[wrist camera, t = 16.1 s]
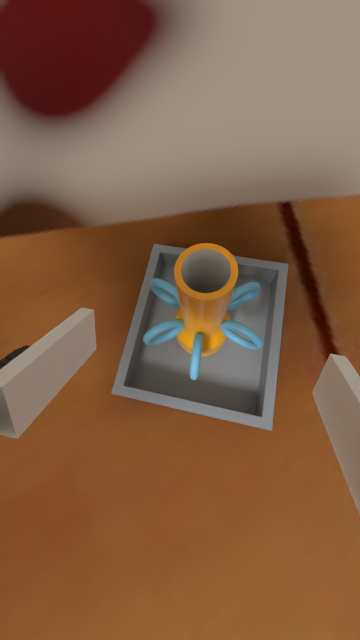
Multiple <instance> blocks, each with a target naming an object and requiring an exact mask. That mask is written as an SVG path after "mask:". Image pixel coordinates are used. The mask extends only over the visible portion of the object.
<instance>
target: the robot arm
mask: <svg viewBox="0 0 360 640" xmlns="http://www.w3.org/2000/svg"><path fill="white" fill-rule="evenodd" d="M95 350H96V335H95V318H94V310H92V309H87V308H81V309H79V310H78V311H77V312H75V313H74V314H73V315H71V316H70V317H69V318H67V319H66V320H65V321H63V322H62V323H61V324H59V325H58V326H57V327H55V328H54V329H53V330H52V331H50V332H49V333H48V334H46V335H45V336H44V337H42V338H41V339H40V340H38V341H37V342H36V343H34V344H33V345H32V346H24V347H21V348H19V349H17V350H14V351H13V352H12V353H10V354H9V355H7V356H6V357H5V359H2V360H0V435H4V436H8V437H12V438H15V439H18V438H19V437H20V436H21V434H22V433H23V432H24V431H25V430H26V429H27V428H28V426H29V425H30V424H31V423H32V422H33V421H34V420H35V418H36V417H37V416H38V415H39V414H40V413H41V412H42V410H43V409H44V408H45V407H46V406H47V405H48V404H49V402H50V401H51V400H52V399H53V398H54V397H55V396H56V394H57V393H58V392H59V391H60V390H61V389H62V388H63V386H64V385H65V384H66V383H67V382H68V381H69V380H70V379H71V377H72V376H73V375H74V374H75V373H76V372H77V371H78V369H79V368H80V367H81V366H82V365H83V364H84V363H85V361H86V360H87V359H88V358H89V357H90V356H91V355H92V353H93V352H94V351H95ZM312 395H313V397H314V400H315V402H316V405H317V408H318V410H319V413H320V415H321V418H322V420H323V423H324V426H325V428H326V431H327V433H328V436H329V438H330V441H331V443H332V446H333V449H334V451H335V454H336V456H337V459H338V461H339V464H340V466H341V469H342V472H343V474H344V477H345V479H346V482H347V484H348V487H349V490H350V492H351V495H352V497H353V500H354V502H355V505H356V507H357V510H358V513H359V515H360V377H359V375H358V374H357V372H356V371H355V369H354V368H353V366H352V365H351V363H350V362H349V361H348V359H347V358H346V357H345V356H340V355H334V354H330V356H329V358H328V360H327V362H326V364H325V366H324V368H323V370H322V373H321V375H320V377H319V379H318V381H317V383H316V385H315V387H314V390H313V392H312Z"/></svg>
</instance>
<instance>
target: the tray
mask: <svg viewBox="0 0 360 640" xmlns="http://www.w3.org/2000/svg"><path fill="white" fill-rule="evenodd" d="M185 250H186V248H179V247H173V246H166V245H160V244H154V245H153V249H152V252H151V256H150V259H149V263H148V266H147V270H146V273H145V277H144V280H143V284H142V287H141V291H140V294H139V298H138V301H137V305H136V308H135V312H134V315H133V319H132V322H131V326H130V329H129V333H128V336H127V340H126V343H125V347H124V350H123V354H122V357H121V361H120V364H119V368H118V372H117V375H116V379H115V382H114V386H113V389H112V393H111V394H115V395H120V396H124V397H128V398H133V399H137V400H141V401H146V402H150V403H154V404H158V405H163V406H167V407H171V408H176V409H180V410H184V411H189V412H193V413H197V414H201V415H206V416H210V417H214V418H219V419H223V420H227V421H231V422H236V423H240V424H244V425H249V426H253V427H257V428H262V429H266V430H270V431H272V424H273V414H274V404H275V394H276V384H277V374H278V364H279V354H280V344H281V334H282V324H283V314H284V305H285V295H286V285H287V275H288V265H289V264H286V263H279V262H272V261H266V260H259V259H252V258H246V257H239V256H233V257H234V258H235V260H236V262H237V266H238V277H237V281H236V284H235V287H234V289H236V288H238V287H240V286H242V285H244V284H247V283H250V282H257V283H259V284H260V286H261V290H260V292H259V293H258V294H257V295H256V296H255V297H254V298H253V299H252V300H250V301H249V302H247V303H246V304H244V305H242V306H240V307H238V308H235V309H233V310H229V311H228V312H229V315H230V319H231V320H233V321H236V322H239V323H241V324H244V325H245V326H247V327H249V328H251V329H252V330H253V331H255V332H256V333H257V334H258V335H259V336H260V337H261V338H262V340H263V346H262V348H261V349H258V350H253V349H249V348H246V347H243V346H241V345H239V344H237V343H235V342H234V341H232V340H231V339H229V338H228V337H227V339H226V341H225V343H224V345H223V346H222V348H221V349H220V350H219V351H218V352H216V353H215V354H213V355H210V356H206V357H201V360H200V368H199V376H198V378H197V379H196V380H192V379H191V378H190V363H191V354H189V353H188V352H186V351H185V350H184V349H183V348H182V347H181V346H180V344H179V342H178V340H177V337H176V336H175V337H173V338H172V339H170V340H167V341H165V342H163V343H160V344H156V345H147V344H145V343H144V342H143V336H144V335H145V333H146V332H147V331H148V330H150V329H151V328H152V327H154V326H156V325H157V324H159V323H162V322H164V321H167V320H170V319H174V317H175V314H176V312H177V310H178V308H177V307H174V306H172V305H170V304H168V303H166V302H165V301H163V300H162V299H161V298H159V297H158V296H157V295H156V294H155V293H154V292H153V291H152V290H151V288H150V285H149V283H150V281H151V280H152V279H154V278H158V279H162V280H164V281H166V282H168V283H170V284H172V285H173V286H174V287H176V281H175V275H174V268H175V264H176V261H177V259H178V257H179V256H180V255H181V253H182V252H183V251H185ZM176 288H177V287H176ZM160 289H161V290H162V291H164V292H165V293H166V294H167V295H169V296H171V297H172V298H174V299H176V298H175V297H174V296H172V295H171V294H170V293H168V292H167V291H165V290H164V289H162V288H160ZM247 293H248V292H247ZM247 293H245V294H243V295H241V296H239V297H238V298H236V299H235V300H237V299H239V298H241V297H243V296H244V295H246V294H247ZM176 300H177V299H176ZM235 300H233V301H235ZM233 301H232V302H233ZM172 329H173V328H171V329H168V330H165V331H163V332H161V333H159V334H158V335H156V336H159V335H162V334H164V333H166V332H168V331H170V330H172ZM231 330H232V329H231ZM232 331H233V332H234V333H236V334H237V335H239V336H241V337H243V338H245V339H247V340H250V339H249V338H248V337H246V336H245V335H243V334H241V333H239V332H237V331H235V330H232ZM156 336H155V337H156ZM250 341H251V340H250Z"/></svg>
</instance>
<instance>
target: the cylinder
mask: <svg viewBox="0 0 360 640" xmlns="http://www.w3.org/2000/svg"><path fill="white" fill-rule="evenodd" d="M174 275H175V281H176V287H177V288H176V287H174V286H173V285H172V284H170V283H168V282H166V281H164V280H162V279H158V278H154V279H152V280H151V281H150V283H149V285H150V288H151V290H152V291H153V292H154V293H155V294H156V295H157V296H158V297H159V298H161V299H162V300H163V301H165V302H166V303H168V304H170V305H172V306H174V307H177V308H178V310H177V312H176V314H175V317H174V319H170V320H167V321H164V322H162V323H159V324H157V325H156V326H154V327H152V328H151V329H150V330H148V331H147V332H146V333H145V335H144V336H143V342H144V343H145V344H147V345H156V344H160V343H163V342H165V341H167V340H170V339H172V338H173V337H175V336H176V337H177V340H178V342H179V344H180V346H181V347H182V348H183V349H184V350H185V351H186V352H188V353H189V354H191V363H190V378H191V379H192V380H196V379H197V378H198V376H199V368H200V360H201V357H206V356H210V355H213V354H215V353H216V352H218V351H219V350H220V349H221V348H222V346H223V345H224V343H225V341H226V339H227V337H228V338H229V339H231V340H232V341H234V342H235V343H237V344H239V345H241V346H243V347H246V348H249V349H253V350H258V349H261V348H262V346H263V340H262V338H261V337H260V336H259V335H258V334H257V333H256V332H255V331H253V330H252V329H251V328H249V327H247V326H245V325H244V324H241V323H239V322H236V321H233V320H231V319H230V315H229V312H228V311H229V310H233V309H235V308H238V307H240V306H242V305H244V304H246V303H247V302H249V301H250V300H252V299H253V298H254V297H255V296H256V295H257V294H258V293H259V292H260V290H261V286H260V284H259V283H257V282H250V283H247V284H244V285H242V286H240V287H238V288H236V289H234V287H235V284H236V281H237V277H238V266H237V262H236V260H235V258H234V257H233V255H232V254H231V253H230V252H229V251H228V250H227V249H225V248H223V247H222V246H219V245H216V244H212V243H201V244H196V245H193V246H191V247H189V248H187V249H186V250H185V251H183V252H182V253H181V255H180V256H179V257H178V259H177V261H176V264H175V268H174ZM160 288H162V289H164V290H165V291H167V292H168V293H170V294H171V295H172V296H174V297H175V298H176V299H177V300H176V299H174V298H172V297H171V296H169V295H167V294H166V293H165V292H164V291H162V290H161V289H160ZM247 292H248V293H247ZM245 293H247V294H246V295H244V296H243V297H241V298H239V299H237V300H235V299H236V298H238V297H239V296H241V295H243V294H245ZM233 300H235V301H233ZM232 301H233V302H232ZM171 328H173V329H172V330H170V331H168V332H166V333H164V334H162V335H159V336H156V335H158V334H159V333H161V332H163V331H165V330H168V329H171ZM231 329H232V330H235V331H237V332H239V333H241V334H243V335H245V336H246V337H248V338H249V339H250V340H251V341H250V340H247V339H245V338H243V337H241V336H239V335H237V334H236V333H234V332H233V331H232V330H231ZM155 336H156V337H155Z"/></svg>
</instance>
